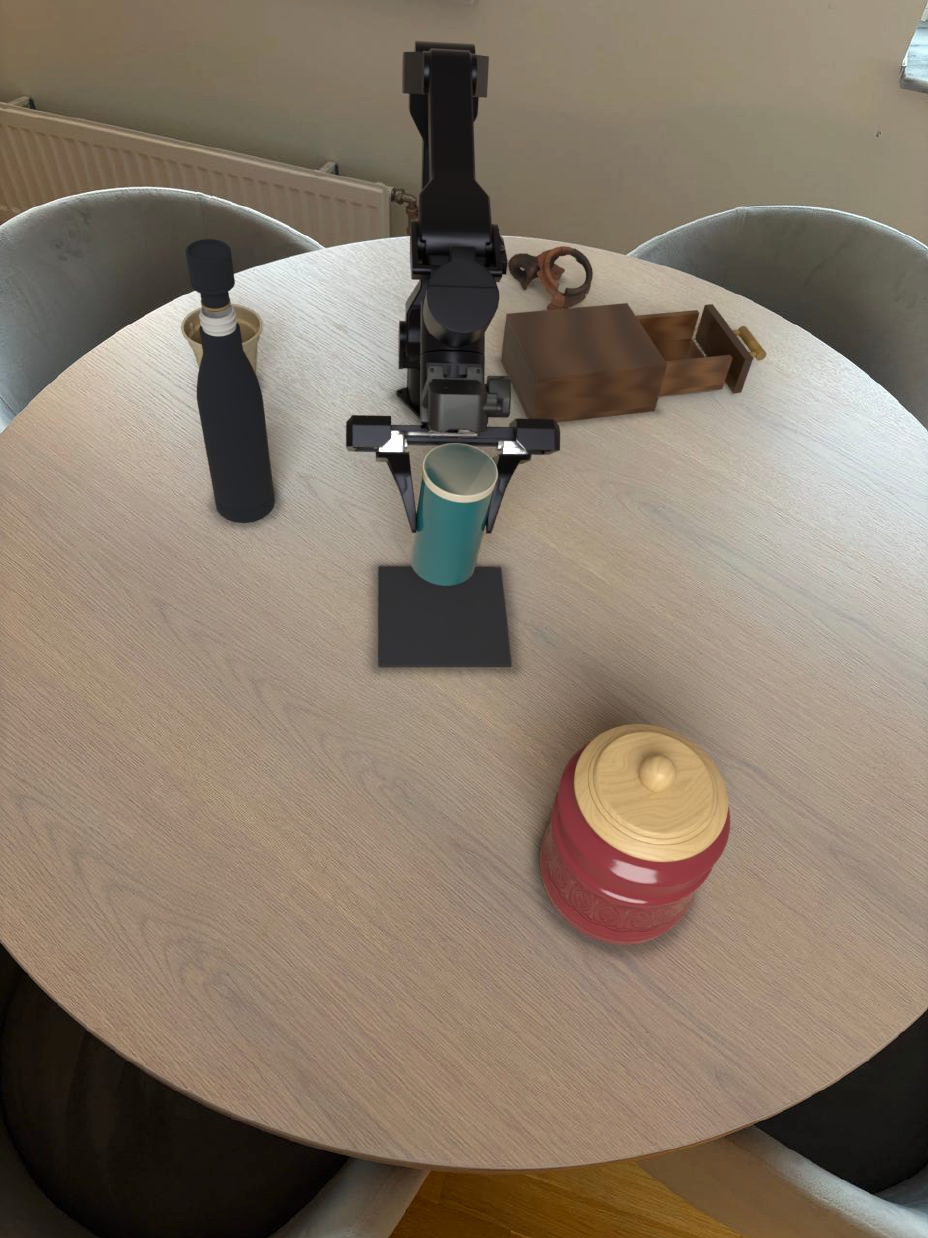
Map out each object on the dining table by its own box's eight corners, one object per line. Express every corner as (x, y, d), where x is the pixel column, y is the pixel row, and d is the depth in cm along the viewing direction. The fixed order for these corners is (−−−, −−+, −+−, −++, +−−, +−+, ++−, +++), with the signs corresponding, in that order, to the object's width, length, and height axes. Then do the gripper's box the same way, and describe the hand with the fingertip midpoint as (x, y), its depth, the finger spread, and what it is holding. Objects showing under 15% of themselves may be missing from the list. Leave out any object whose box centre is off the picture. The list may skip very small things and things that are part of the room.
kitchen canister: (675, 804, 85) (732, 689, 71) (704, 949, 76) (775, 849, 63) (531, 804, 84) (561, 687, 70) (544, 950, 75) (581, 849, 62)
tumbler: (462, 529, 93) (481, 438, 84) (486, 579, 90) (509, 489, 81) (400, 541, 91) (412, 448, 82) (422, 592, 88) (437, 501, 78)
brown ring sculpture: (576, 279, 141) (601, 247, 133) (571, 335, 139) (595, 307, 131) (501, 256, 138) (521, 222, 130) (494, 313, 135) (514, 283, 128)
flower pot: (183, 371, 119) (171, 310, 113) (256, 356, 122) (249, 296, 116) (203, 415, 114) (192, 354, 108) (278, 399, 117) (273, 338, 111)
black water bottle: (263, 528, 103) (230, 274, 80) (207, 517, 103) (157, 261, 80) (282, 489, 107) (256, 237, 84) (228, 479, 107) (187, 225, 84)
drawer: (729, 335, 132) (741, 301, 128) (770, 389, 124) (783, 354, 120) (597, 348, 127) (604, 313, 123) (631, 405, 120) (639, 370, 116)
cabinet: (616, 349, 129) (627, 302, 124) (654, 411, 121) (667, 364, 116) (500, 360, 126) (506, 313, 120) (531, 425, 117) (538, 377, 112)
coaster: (378, 569, 100) (378, 566, 100) (500, 569, 101) (500, 567, 101) (378, 667, 92) (378, 665, 92) (511, 667, 93) (511, 664, 93)
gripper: (343, 335, 75) (344, 533, 77) (574, 342, 77) (570, 535, 79) (347, 359, 86) (348, 532, 88) (550, 364, 88) (547, 533, 90)
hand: (451, 533), depth 86 cm, fingers closed on tumbler, 6 cm apart
